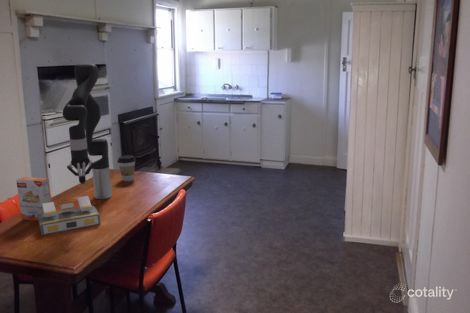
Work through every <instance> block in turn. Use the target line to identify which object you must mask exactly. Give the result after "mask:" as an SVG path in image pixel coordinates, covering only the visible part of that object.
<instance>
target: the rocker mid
mask: <svg viewBox="0 0 470 313" xmlns="http://www.w3.org/2000/svg"><path fill="white" fill-rule="evenodd" d="M74 207H75V205H74V202H67V203H63V204H61V205H60V210H61V211H66V210H72V209H73V208H74Z"/></svg>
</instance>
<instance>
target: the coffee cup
mask: <svg viewBox="0 0 470 313" xmlns="http://www.w3.org/2000/svg"><path fill="white" fill-rule="evenodd" d="M117 163H118V166H119V172H120V175H121V180H122V182H133V181H134V179H135V169H136V167H135V166H136V165H135V164H136V157H134V155H130V154H129V155H121V156H119V157H118V159H117Z"/></svg>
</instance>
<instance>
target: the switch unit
mask: <svg viewBox="0 0 470 313" xmlns="http://www.w3.org/2000/svg"><path fill="white" fill-rule="evenodd" d="M91 206H92V210H89V211H83V212H81V210H80V207H79V208H74V209H73V208H72V209H66V210H61V211H56V215H57V216H51V217H46V218H45V216H44V214H43V215H38V220H39V221H38V226H39V230H40V233H41V234H40V235H41V236H46V235H50V234H55V233H61V232H66V231H72V230H78V229H83V228H87V227H93V226H99V225H101V214H100V212H99V211H98V210H97V207H95V206H94V205H91Z"/></svg>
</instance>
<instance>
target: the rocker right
mask: <svg viewBox="0 0 470 313" xmlns="http://www.w3.org/2000/svg"><path fill="white" fill-rule="evenodd" d="M77 203H78V206H79V208H80V210H81V212H83V211H89V210H92V206H93V205H92V204H91V201H90V198H89V195H85V196H79V197H77Z"/></svg>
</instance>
